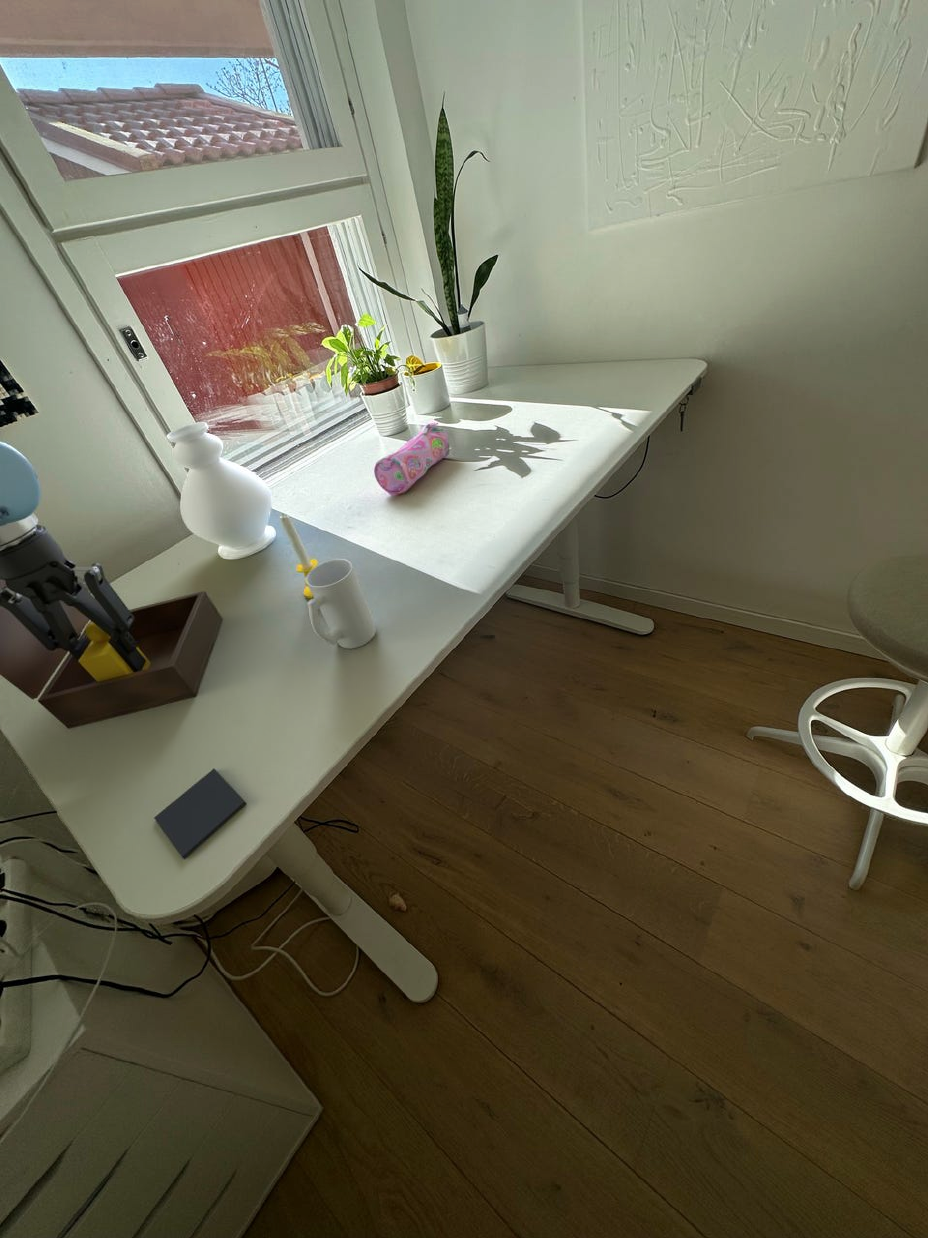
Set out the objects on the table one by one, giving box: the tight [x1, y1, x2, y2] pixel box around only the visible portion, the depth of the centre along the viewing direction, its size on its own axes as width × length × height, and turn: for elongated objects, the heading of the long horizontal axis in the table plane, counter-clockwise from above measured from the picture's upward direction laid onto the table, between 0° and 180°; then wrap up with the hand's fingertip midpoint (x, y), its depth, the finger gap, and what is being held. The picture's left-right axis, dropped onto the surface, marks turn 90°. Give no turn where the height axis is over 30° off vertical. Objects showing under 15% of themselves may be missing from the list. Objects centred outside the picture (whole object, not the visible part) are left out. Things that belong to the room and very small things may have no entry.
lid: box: [0, 579, 90, 700], centre depth 74 cm, size 21×19×1 cm
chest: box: [37, 590, 224, 729], centre depth 82 cm, size 20×19×6 cm
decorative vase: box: [166, 421, 277, 560], centre depth 105 cm, size 18×18×25 cm
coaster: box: [153, 768, 247, 860], centre depth 61 cm, size 8×8×1 cm
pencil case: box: [373, 422, 451, 496], centre depth 119 cm, size 21×9×9 cm, turn 151°
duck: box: [78, 621, 151, 682], centre depth 76 cm, size 4×7×10 cm, turn 9°
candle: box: [278, 513, 319, 600], centre depth 88 cm, size 5×5×16 cm
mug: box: [305, 558, 377, 649], centre depth 76 cm, size 10×7×12 cm, turn 156°
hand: (124, 671), depth 78 cm, fingers closed on duck, 4 cm apart
